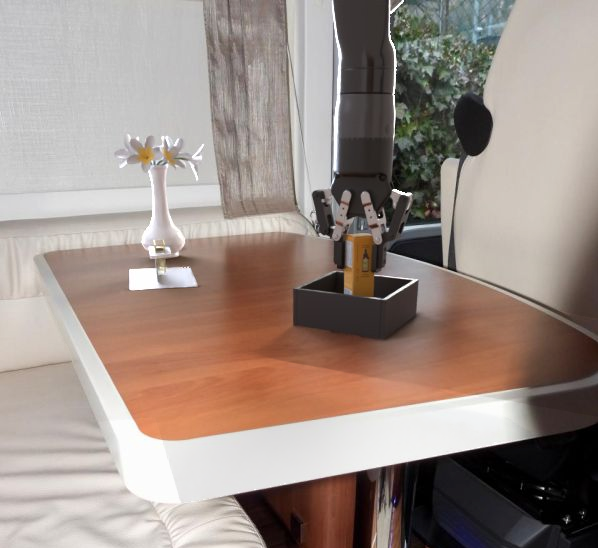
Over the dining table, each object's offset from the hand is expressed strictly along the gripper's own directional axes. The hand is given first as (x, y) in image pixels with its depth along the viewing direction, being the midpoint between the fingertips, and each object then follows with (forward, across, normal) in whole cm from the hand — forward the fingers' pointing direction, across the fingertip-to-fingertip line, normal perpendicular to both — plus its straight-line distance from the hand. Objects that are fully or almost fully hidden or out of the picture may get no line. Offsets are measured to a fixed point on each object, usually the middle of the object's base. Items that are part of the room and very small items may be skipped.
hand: (358, 269), depth 87 cm
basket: (+9, 0, 0) cm, 9 cm away
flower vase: (+9, +59, -32) cm, 68 cm away
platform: (+9, +46, -14) cm, 49 cm away
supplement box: (+6, 0, 0) cm, 6 cm away
